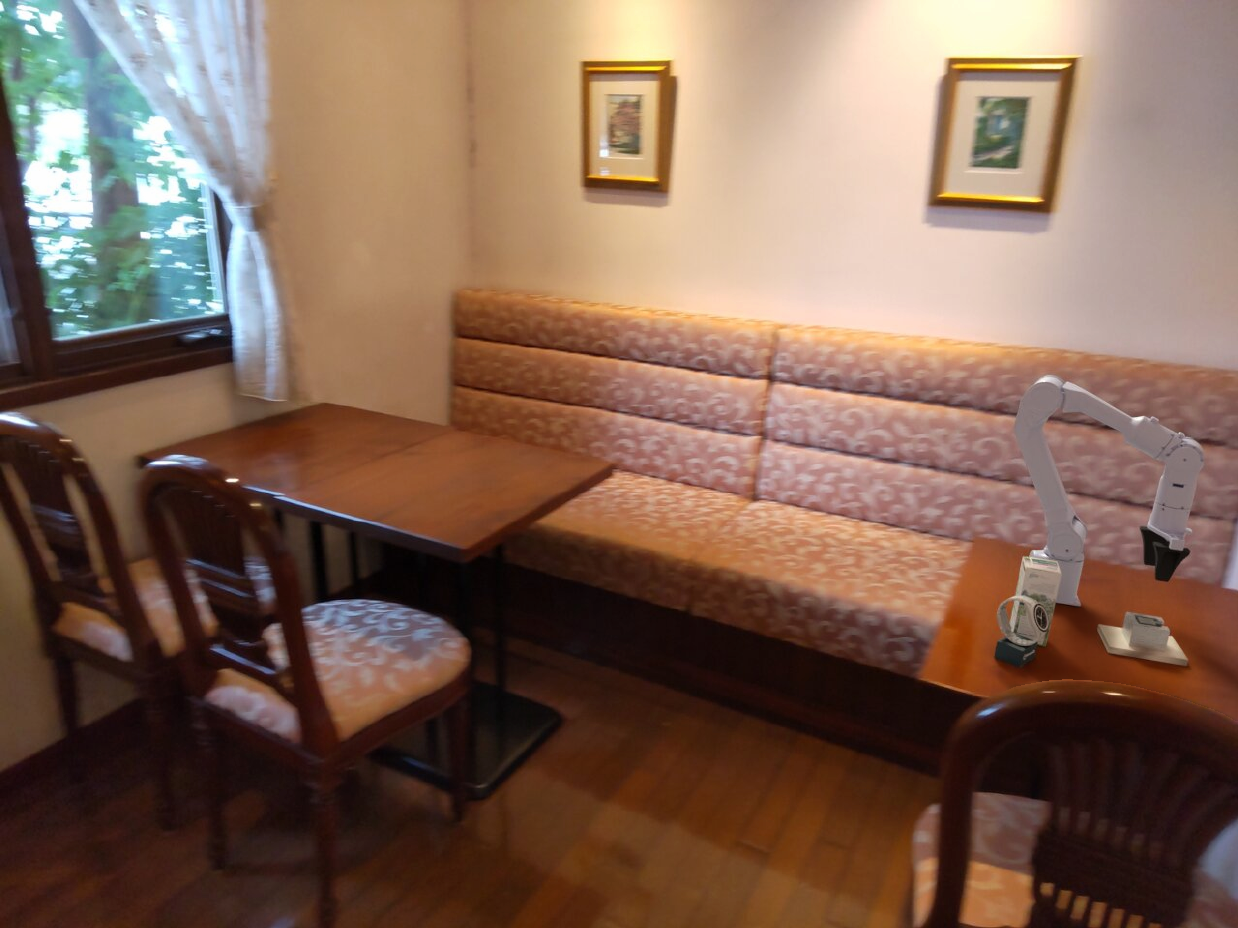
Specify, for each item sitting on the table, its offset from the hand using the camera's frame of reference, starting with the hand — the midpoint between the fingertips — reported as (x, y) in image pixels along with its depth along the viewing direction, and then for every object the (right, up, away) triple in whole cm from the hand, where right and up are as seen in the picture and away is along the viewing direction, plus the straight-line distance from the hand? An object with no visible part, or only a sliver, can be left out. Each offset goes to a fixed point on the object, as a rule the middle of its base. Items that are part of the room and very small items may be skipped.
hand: (1155, 572), depth 160 cm
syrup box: (-28, -11, -7) cm, 31 cm away
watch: (-33, -13, -15) cm, 39 cm away
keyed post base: (-9, -12, -9) cm, 17 cm away
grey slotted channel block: (-8, -11, -9) cm, 17 cm away
